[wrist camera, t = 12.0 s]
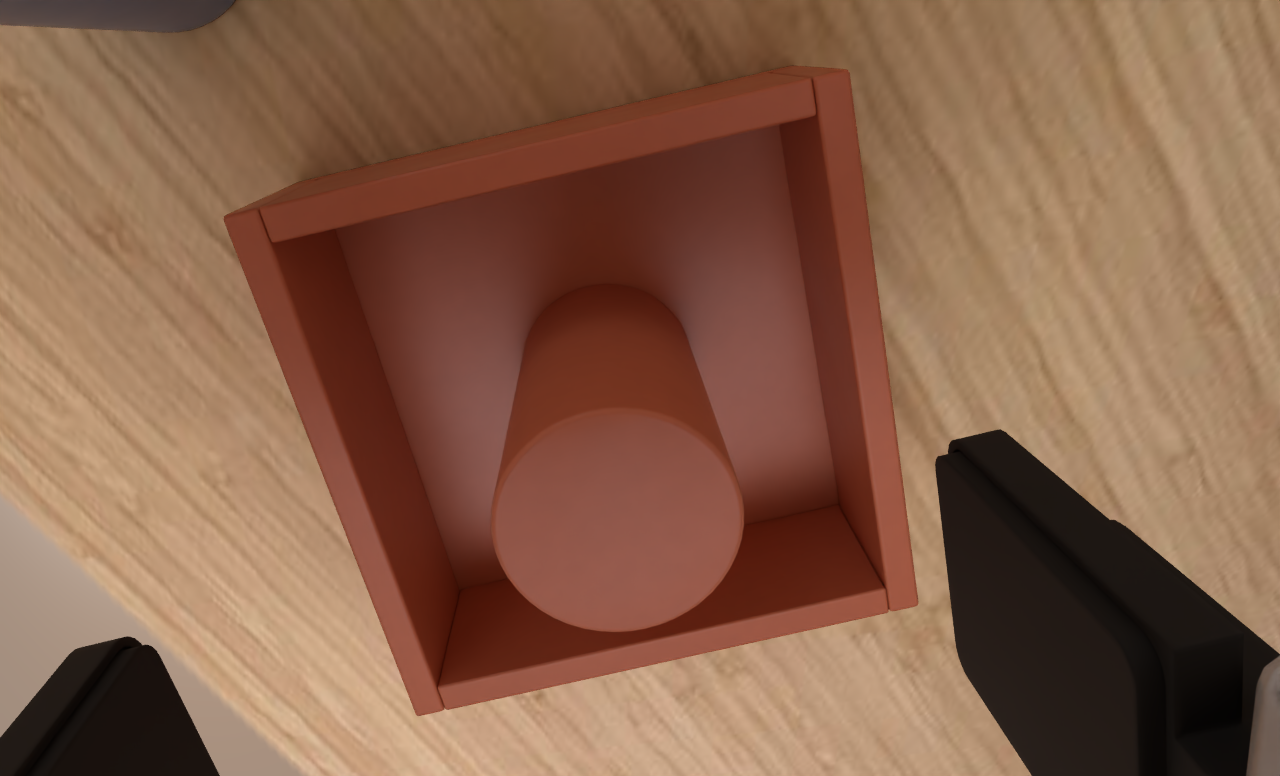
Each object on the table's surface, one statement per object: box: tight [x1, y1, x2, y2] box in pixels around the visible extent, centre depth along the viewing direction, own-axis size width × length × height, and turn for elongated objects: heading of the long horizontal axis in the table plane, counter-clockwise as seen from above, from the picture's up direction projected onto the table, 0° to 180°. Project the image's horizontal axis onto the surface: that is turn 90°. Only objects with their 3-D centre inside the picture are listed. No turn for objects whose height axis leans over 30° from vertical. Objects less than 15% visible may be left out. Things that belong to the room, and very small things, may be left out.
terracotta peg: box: [490, 284, 744, 632], centre depth 16 cm, size 4×4×7 cm
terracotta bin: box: [224, 65, 918, 716], centre depth 18 cm, size 10×10×4 cm
